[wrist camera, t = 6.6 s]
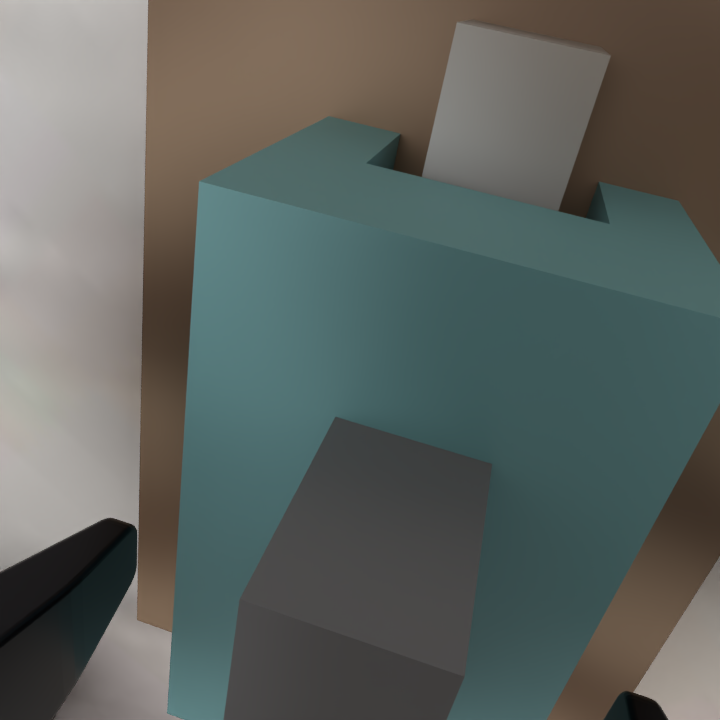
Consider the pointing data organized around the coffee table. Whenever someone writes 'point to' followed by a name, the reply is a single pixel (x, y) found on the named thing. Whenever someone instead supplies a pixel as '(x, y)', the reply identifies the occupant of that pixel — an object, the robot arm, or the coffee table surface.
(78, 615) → the robot arm
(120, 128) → the coffee table surface
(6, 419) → the coffee table surface
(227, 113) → the cleat board
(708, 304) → the grooved box
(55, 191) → the coffee table surface
